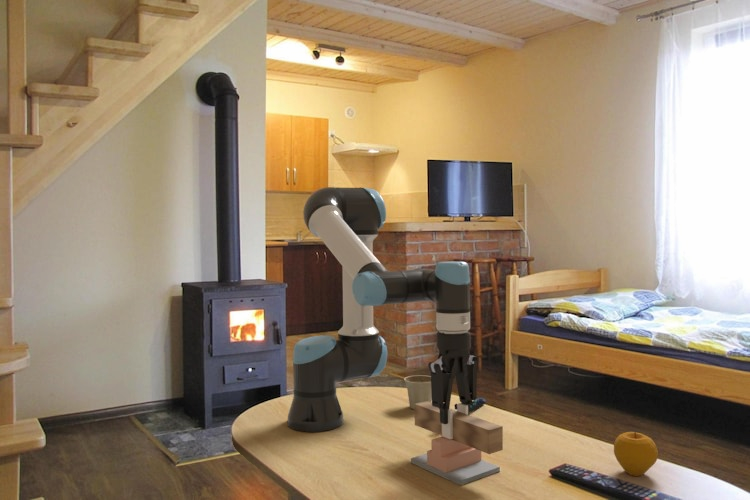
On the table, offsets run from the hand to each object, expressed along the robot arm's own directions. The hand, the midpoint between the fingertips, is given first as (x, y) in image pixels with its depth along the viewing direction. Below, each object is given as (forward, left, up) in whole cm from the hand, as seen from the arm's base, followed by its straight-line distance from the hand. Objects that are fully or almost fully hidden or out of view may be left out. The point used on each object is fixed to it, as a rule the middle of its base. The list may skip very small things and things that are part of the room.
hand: (455, 435), depth 140 cm
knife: (-24, +28, -8) cm, 38 cm away
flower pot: (-39, +24, -8) cm, 47 cm away
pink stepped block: (0, 0, -7) cm, 7 cm away
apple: (+27, +28, -8) cm, 39 cm away
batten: (0, 0, 0) cm, 0 cm away
